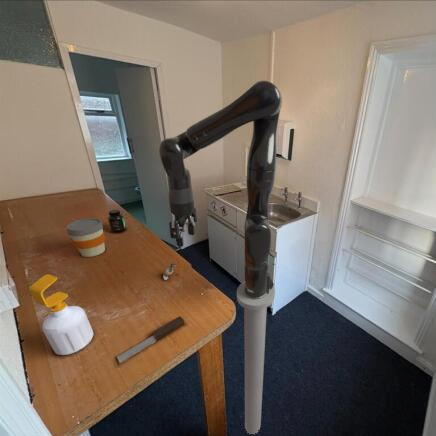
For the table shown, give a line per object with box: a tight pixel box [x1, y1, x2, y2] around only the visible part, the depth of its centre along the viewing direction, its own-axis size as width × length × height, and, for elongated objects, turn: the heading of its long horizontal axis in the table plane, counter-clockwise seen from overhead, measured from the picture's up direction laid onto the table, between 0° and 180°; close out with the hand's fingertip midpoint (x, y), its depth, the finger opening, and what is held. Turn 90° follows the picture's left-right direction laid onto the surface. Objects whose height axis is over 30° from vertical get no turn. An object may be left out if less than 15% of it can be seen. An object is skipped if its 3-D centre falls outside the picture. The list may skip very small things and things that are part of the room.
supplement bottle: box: [107, 209, 127, 234], centre depth 128 cm, size 7×7×12 cm
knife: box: [116, 315, 185, 364], centre depth 73 cm, size 19×3×2 cm, turn 139°
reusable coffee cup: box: [66, 217, 106, 258], centre depth 109 cm, size 13×13×15 cm
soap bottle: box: [29, 273, 94, 356], centre depth 66 cm, size 9×9×25 cm
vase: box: [162, 262, 177, 281], centre depth 100 cm, size 5×5×6 cm
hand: (186, 240), depth 85 cm, fingers open, 8 cm apart
